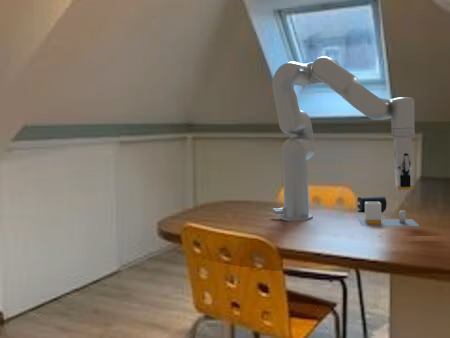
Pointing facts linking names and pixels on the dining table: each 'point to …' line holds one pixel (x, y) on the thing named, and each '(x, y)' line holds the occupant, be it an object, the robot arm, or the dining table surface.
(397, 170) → the sleeve
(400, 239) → the dining table surface
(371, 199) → the end cap
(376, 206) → the seated sleeve
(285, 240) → the dining table surface
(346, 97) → the robot arm
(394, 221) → the pin board
